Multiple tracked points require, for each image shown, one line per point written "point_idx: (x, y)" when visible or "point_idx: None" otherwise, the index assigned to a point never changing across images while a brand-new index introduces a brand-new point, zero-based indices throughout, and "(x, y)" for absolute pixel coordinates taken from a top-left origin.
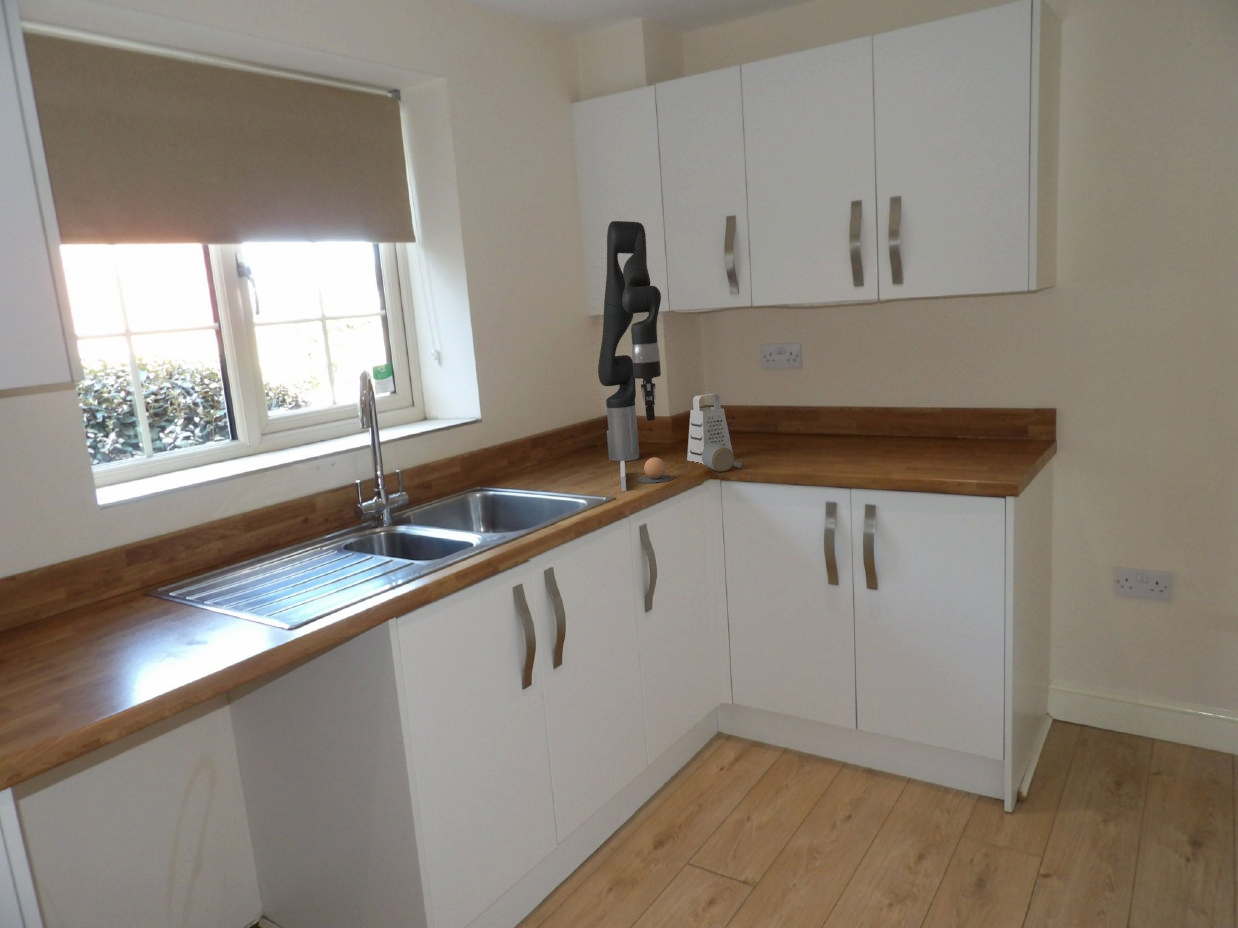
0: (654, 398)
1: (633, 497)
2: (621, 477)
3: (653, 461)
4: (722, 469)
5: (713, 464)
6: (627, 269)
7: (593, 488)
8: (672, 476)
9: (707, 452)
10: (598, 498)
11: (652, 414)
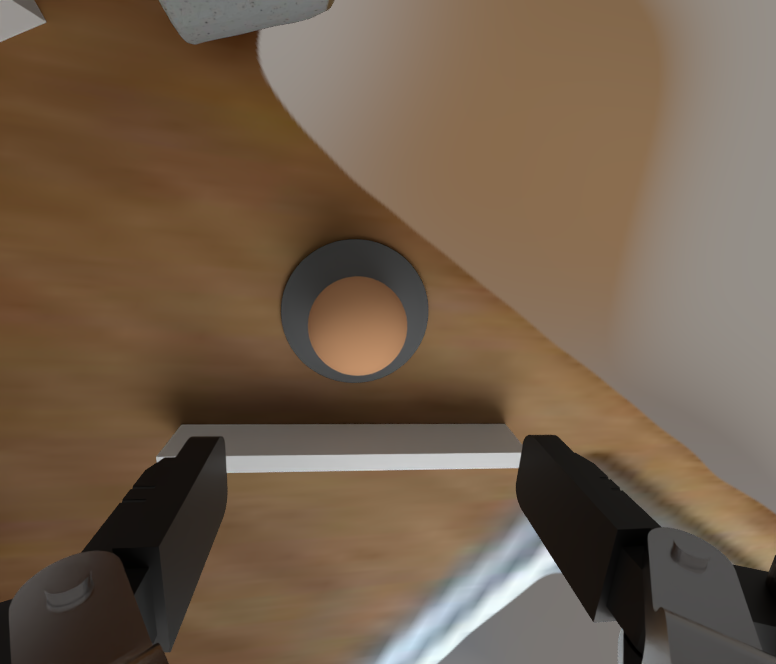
0: (726, 639)
1: (613, 402)
2: None
3: (393, 342)
4: None
5: (331, 4)
6: None
7: (409, 522)
8: (344, 241)
9: None
10: None
11: (611, 487)
